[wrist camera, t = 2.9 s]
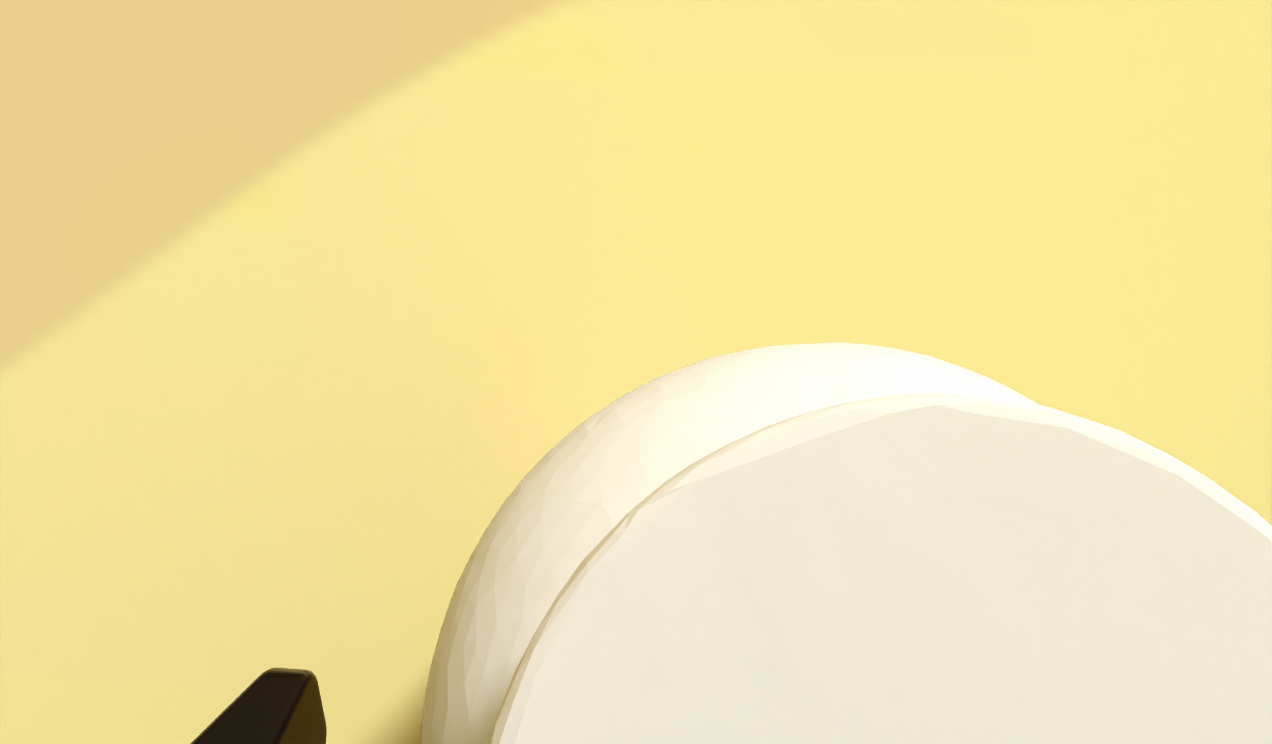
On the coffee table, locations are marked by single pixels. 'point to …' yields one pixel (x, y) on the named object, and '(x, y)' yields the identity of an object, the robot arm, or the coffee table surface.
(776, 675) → the supplement bottle
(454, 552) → the coffee table surface
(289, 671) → the robot arm
